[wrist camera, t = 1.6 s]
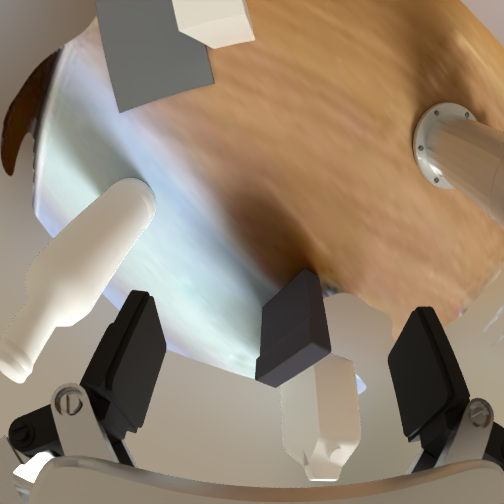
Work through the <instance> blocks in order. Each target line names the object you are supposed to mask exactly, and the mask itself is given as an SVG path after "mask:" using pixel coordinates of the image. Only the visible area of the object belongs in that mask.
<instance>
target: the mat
mask: <svg viewBox="0 0 504 504" xmlns="http://www.w3.org/2000/svg"><path fill="white" fill-rule="evenodd" d="M95 5H96V11H97V17H98V23H99V28H100V33H101V38H102V43H103V48H104V53H105V57H106V62H107V66H108V70H109V75H110V79H111V83H112V87H113V91H114V95H115V98H116V102H117V106H118V109H119V113H122V112H124V111H127V110H129V109H132V108H135V107H138V106H140V105H143V104H146V103H149V102H152V101H155V100H158V99H161V98H164V97H167V96H170V95H174V94H177V93H180V92H184V91H187V90H191V89H195V88H198V87H202V86H206V85H210V84H214V78H213V74H212V70H211V66H210V61H209V57H208V53H207V48H206V44H204V43H202V42H200V41H198V40H196V39H194V38H192V37H190V36H188V35H186V34H184V33H182V32H180V31H179V29H178V25H177V21H176V16H175V12H174V7H173V3H172V0H99V1H97V2H95Z"/></svg>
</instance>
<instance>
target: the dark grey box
mask: <svg viewBox="0 0 504 504" xmlns="http://www.w3.org/2000/svg"><path fill="white" fill-rule="evenodd" d="M328 332H329V331H328V325H327V320H326V314H325V308H324V303H323V297H322V292H321V286H320V281H319V277H318V276H316V275H315V274H314V273H312V272H311V271H309V270H307V269H306V268H304V269H303V270H302V271H301V272H300V273H299V274H298V275H297V276H295V277H294V278H293V279H292V280H291V281H290V282H289V283H288V284H287V285H286V286H285V287H284V288H283V289H282V290H281V291H280V292H279V293H278V294H277V295H275V296H274V297H273V298H272V299H271V300H270V301H269V302H268V303H267V304H266V305H265V306H264V307H263V308H262V326H261V345H260V356H259V357H258V358H257V359H256V372H255V380H257V381H259V382H262V383H264V384H267V385H269V386H272V387H275V388H276V387H278V386H280V385H281V384H283V383H285V382H286V381H288V380H290V379H291V378H293V377H295V376H296V375H298V374H299V373H301V372H303V371H304V370H306V369H307V368H309V367H310V366H312V365H314V364H315V363H317V362H318V361H320V360H321V359H323V358H324V357H326V356H327V355H328V354H330V353H331V345H330V338H329V333H328Z"/></svg>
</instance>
